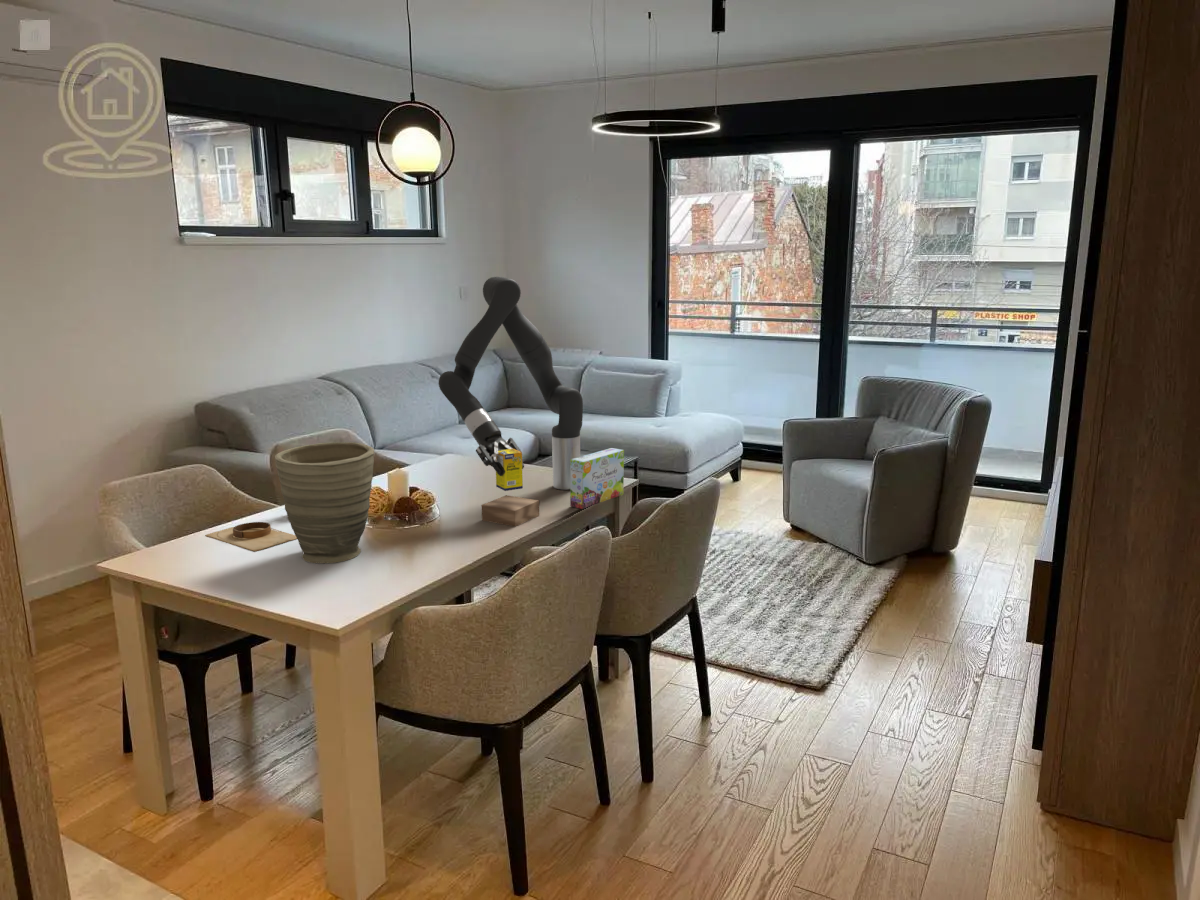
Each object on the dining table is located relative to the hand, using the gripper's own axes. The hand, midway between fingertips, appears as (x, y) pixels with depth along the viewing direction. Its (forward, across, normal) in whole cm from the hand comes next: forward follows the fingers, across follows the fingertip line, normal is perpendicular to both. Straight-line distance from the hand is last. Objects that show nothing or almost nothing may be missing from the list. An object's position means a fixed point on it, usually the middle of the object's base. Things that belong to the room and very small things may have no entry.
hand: (512, 471), depth 254 cm
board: (-23, -54, +45) cm, 74 cm away
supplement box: (+3, 0, +5) cm, 5 cm away
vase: (-2, -50, +23) cm, 55 cm away
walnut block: (+9, 0, +11) cm, 15 cm away
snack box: (+16, +30, +4) cm, 34 cm away
